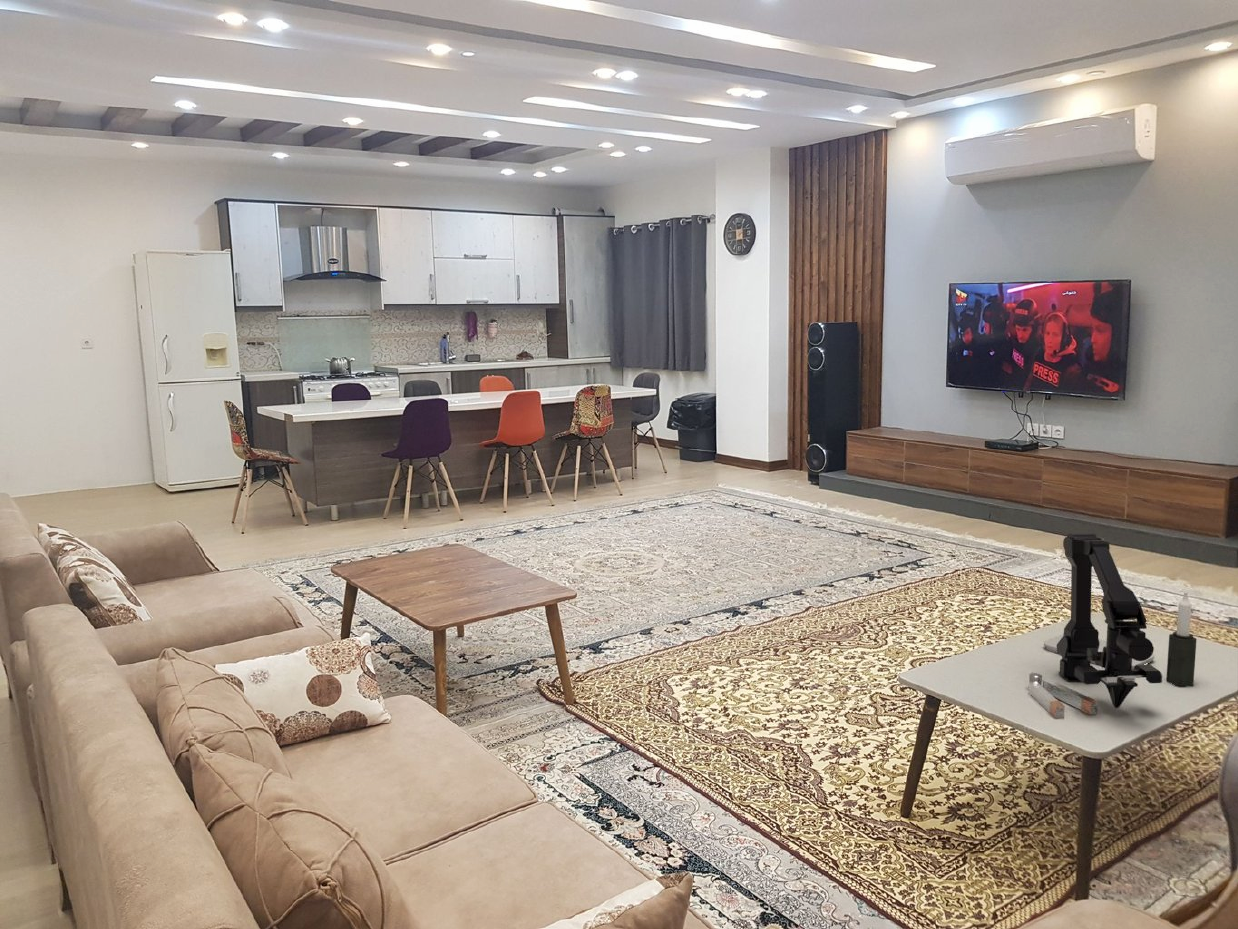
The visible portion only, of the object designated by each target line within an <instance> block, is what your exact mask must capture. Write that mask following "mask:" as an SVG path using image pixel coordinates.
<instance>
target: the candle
mask: <svg viewBox="0 0 1238 929" xmlns="http://www.w3.org/2000/svg"><path fill="white" fill-rule="evenodd" d="M1188 596H1189V595H1188V591H1184V592H1183V596H1182V597H1181V600H1180V601H1179V602H1178V607H1177V622H1176V631H1174V632H1172V633H1170V634H1169V635H1168V649H1167V651H1168V652H1167V664H1166V665H1167V666H1166V682H1167V683H1170V684H1171V683H1172V684H1171V685H1173V684H1174V685H1175V686H1174V685H1173V686H1174V687H1176V686H1179V687H1178V688H1186V686H1191V687H1194V683H1195V680H1194V679H1195V667H1196V653H1197V652H1196V651H1197V641H1198V640H1197V638H1196V637H1194V635H1193V634H1192V633H1191V621H1192V620H1191V618H1192V603H1191V602H1190V599H1189V597H1188Z"/></svg>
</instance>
